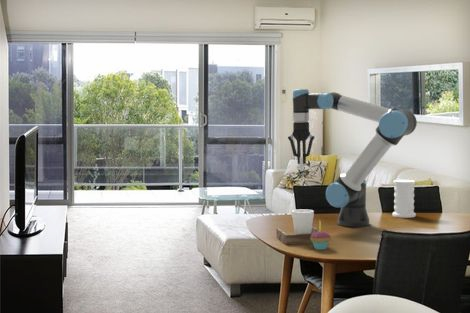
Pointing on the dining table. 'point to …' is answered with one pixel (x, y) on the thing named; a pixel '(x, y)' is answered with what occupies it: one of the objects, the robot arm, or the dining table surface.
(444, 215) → the dining table surface
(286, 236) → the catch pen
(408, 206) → the decorative container
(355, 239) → the dining table surface
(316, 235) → the cupcake
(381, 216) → the dining table surface
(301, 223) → the foam cup
